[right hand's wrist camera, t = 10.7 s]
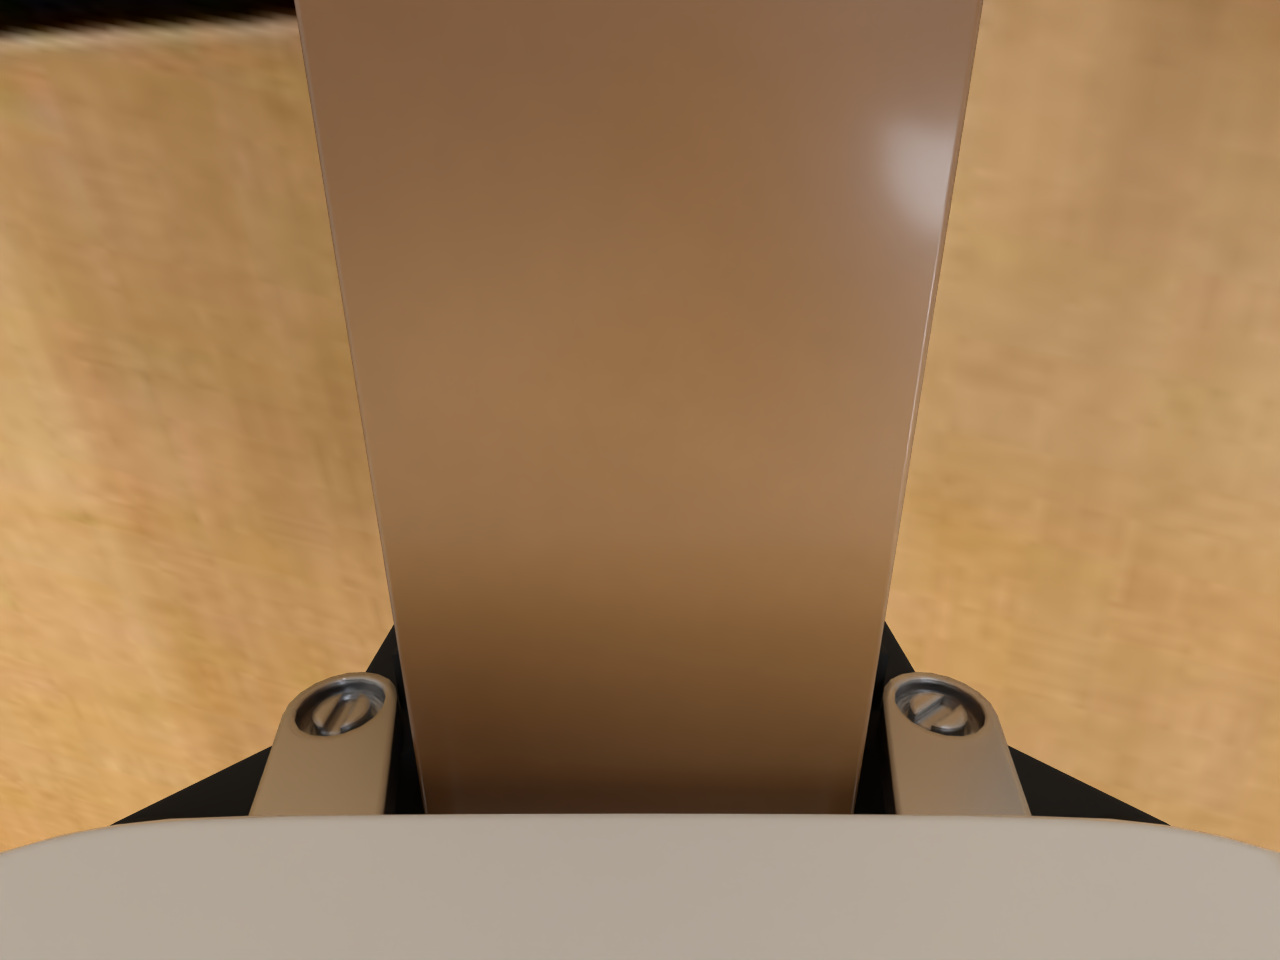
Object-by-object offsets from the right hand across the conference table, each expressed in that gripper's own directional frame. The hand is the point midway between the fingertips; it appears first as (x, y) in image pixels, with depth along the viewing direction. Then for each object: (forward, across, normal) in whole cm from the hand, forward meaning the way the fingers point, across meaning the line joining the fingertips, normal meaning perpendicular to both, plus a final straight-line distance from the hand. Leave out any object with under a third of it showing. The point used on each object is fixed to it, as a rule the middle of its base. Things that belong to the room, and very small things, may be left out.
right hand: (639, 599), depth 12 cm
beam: (+3, 0, -23) cm, 23 cm away
